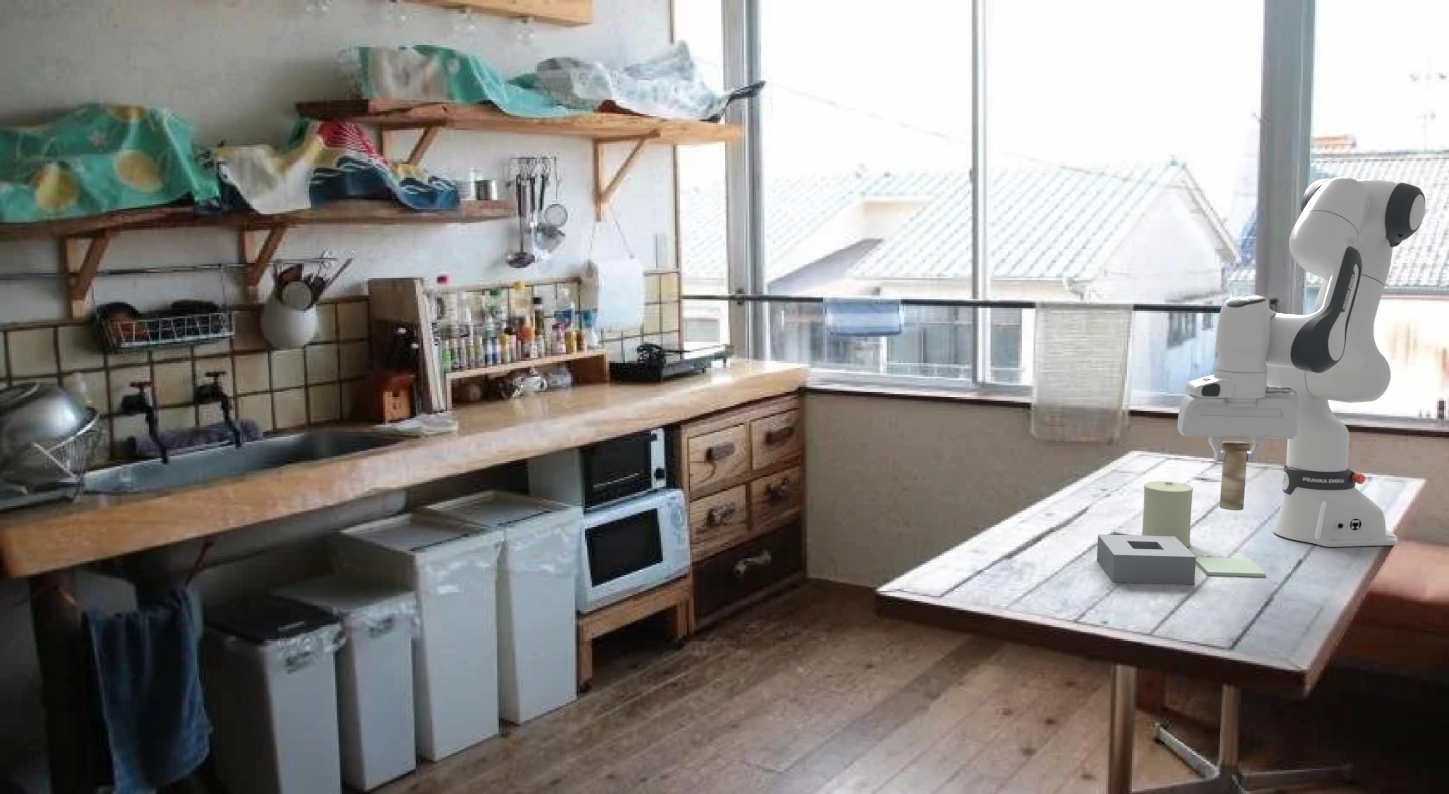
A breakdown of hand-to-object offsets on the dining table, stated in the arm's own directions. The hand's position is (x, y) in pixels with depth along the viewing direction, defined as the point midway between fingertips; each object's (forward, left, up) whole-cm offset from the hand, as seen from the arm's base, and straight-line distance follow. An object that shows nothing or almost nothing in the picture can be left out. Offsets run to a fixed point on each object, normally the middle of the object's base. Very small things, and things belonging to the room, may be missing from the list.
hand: (1234, 461), depth 222 cm
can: (+7, -17, -20) cm, 27 cm away
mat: (0, 0, -20) cm, 20 cm away
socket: (+16, +4, -20) cm, 26 cm away
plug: (0, 0, -9) cm, 9 cm away
